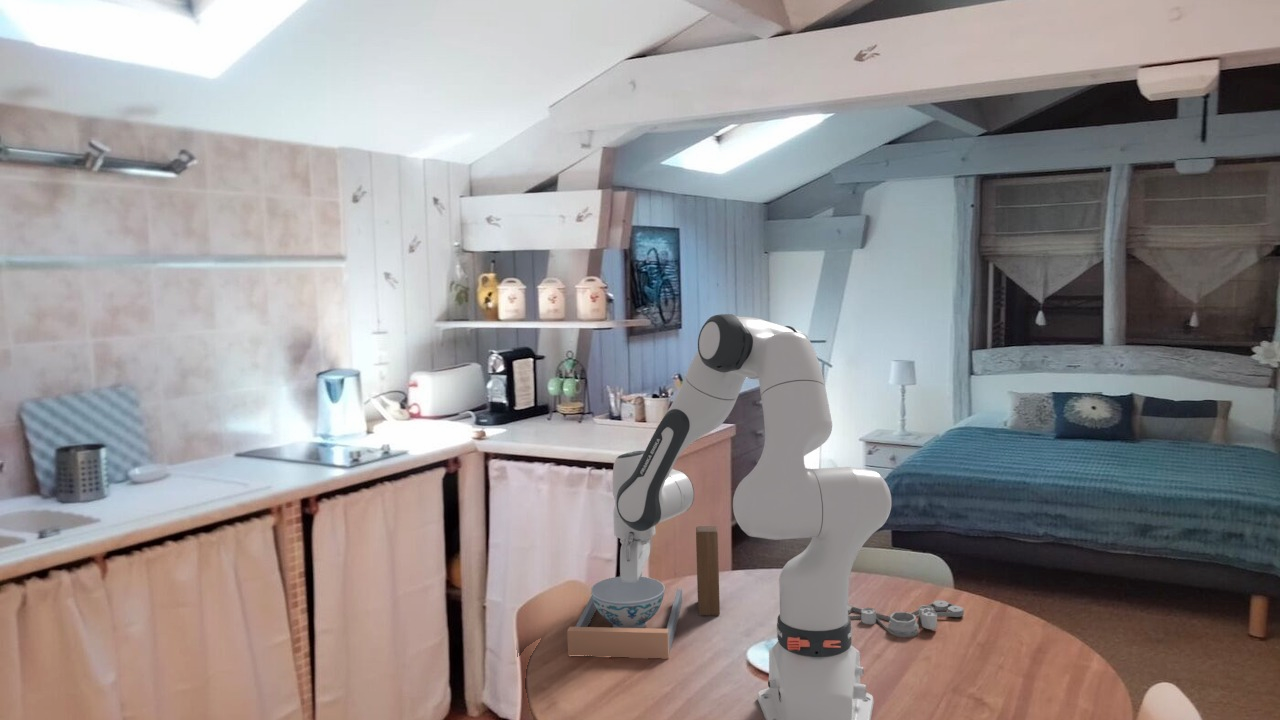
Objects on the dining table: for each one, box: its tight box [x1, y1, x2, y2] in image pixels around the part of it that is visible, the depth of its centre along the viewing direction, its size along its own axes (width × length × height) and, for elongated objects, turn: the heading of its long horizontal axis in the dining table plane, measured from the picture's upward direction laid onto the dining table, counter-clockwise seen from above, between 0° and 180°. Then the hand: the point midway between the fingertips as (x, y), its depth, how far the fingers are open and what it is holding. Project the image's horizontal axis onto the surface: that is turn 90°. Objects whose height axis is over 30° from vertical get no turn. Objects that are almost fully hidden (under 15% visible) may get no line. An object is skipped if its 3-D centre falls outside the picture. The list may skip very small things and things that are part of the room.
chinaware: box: [590, 575, 666, 628], centre depth 186 cm, size 15×15×8 cm
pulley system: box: [848, 600, 965, 638], centre depth 183 cm, size 27×5×15 cm
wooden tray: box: [566, 588, 683, 660], centre depth 184 cm, size 29×19×5 cm, turn 172°
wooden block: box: [695, 525, 721, 616], centre depth 193 cm, size 9×4×18 cm, turn 176°
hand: (636, 589), depth 195 cm, fingers closed
